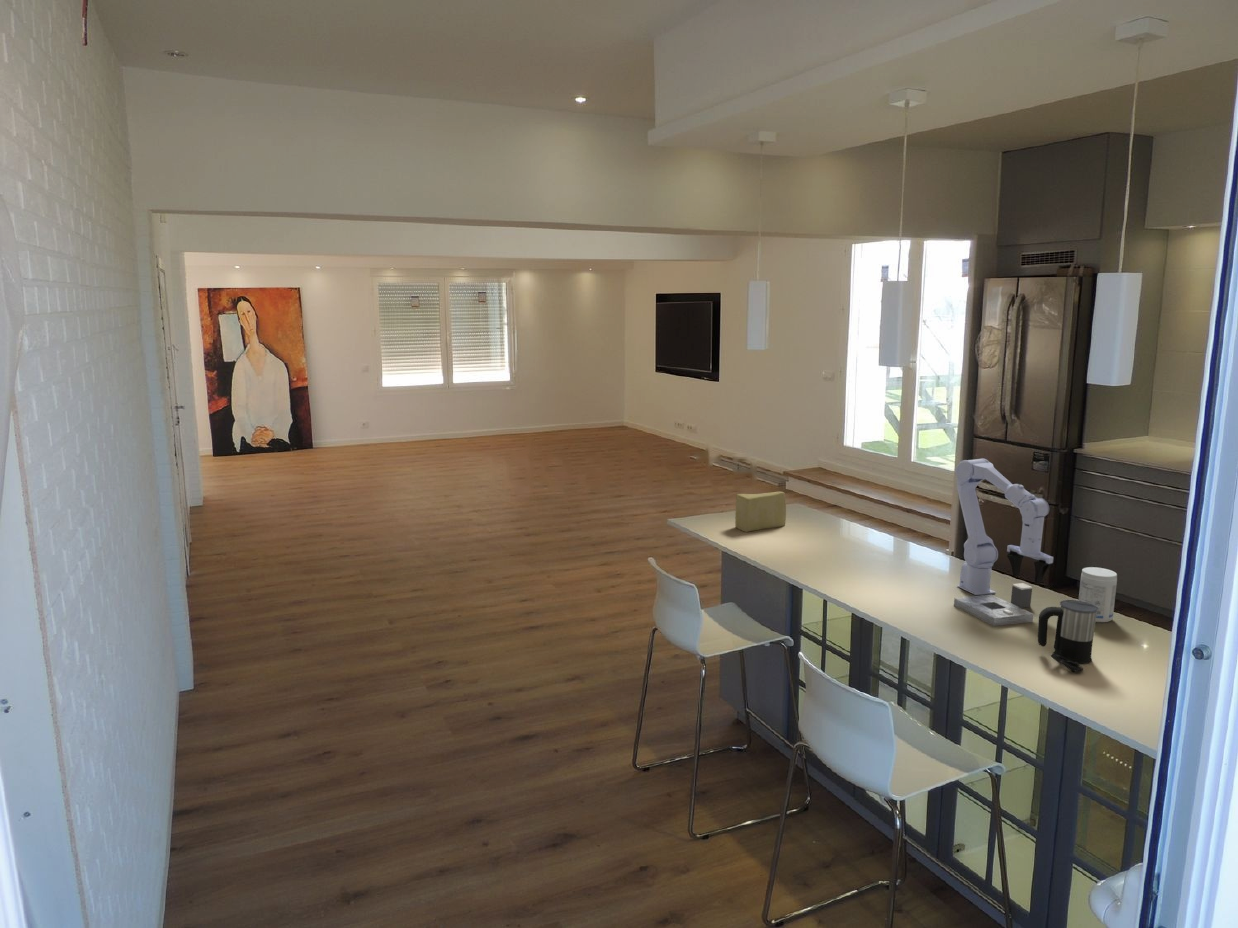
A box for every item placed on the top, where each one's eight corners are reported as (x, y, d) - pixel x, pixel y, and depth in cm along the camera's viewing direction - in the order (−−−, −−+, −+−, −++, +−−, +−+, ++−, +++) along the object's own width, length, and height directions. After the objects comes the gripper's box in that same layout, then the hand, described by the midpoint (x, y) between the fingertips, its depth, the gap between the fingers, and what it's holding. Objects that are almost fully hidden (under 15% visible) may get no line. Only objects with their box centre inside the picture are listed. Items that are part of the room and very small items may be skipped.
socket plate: (953, 605, 265) (954, 596, 264) (990, 601, 269) (991, 592, 268) (993, 626, 248) (994, 616, 247) (1032, 621, 252) (1033, 611, 251)
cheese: (778, 522, 366) (780, 489, 363) (790, 528, 357) (792, 493, 354) (733, 527, 358) (735, 492, 355) (745, 532, 349) (746, 497, 346)
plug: (1010, 603, 267) (1012, 584, 266) (1021, 602, 268) (1023, 583, 267) (1019, 607, 263) (1021, 588, 262) (1030, 606, 264) (1032, 587, 263)
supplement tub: (1095, 610, 261) (1100, 565, 258) (1120, 621, 252) (1126, 575, 249) (1069, 613, 259) (1074, 567, 256) (1093, 624, 250) (1099, 577, 247)
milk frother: (1079, 650, 231) (1085, 599, 228) (1115, 675, 215) (1122, 620, 213) (1029, 650, 230) (1034, 599, 228) (1060, 675, 215) (1067, 620, 212)
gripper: (1002, 533, 263) (998, 574, 266) (1044, 545, 251) (1039, 588, 253) (1017, 530, 267) (1012, 571, 269) (1059, 542, 254) (1054, 584, 257)
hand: (1026, 579), depth 262 cm, fingers open, 7 cm apart
